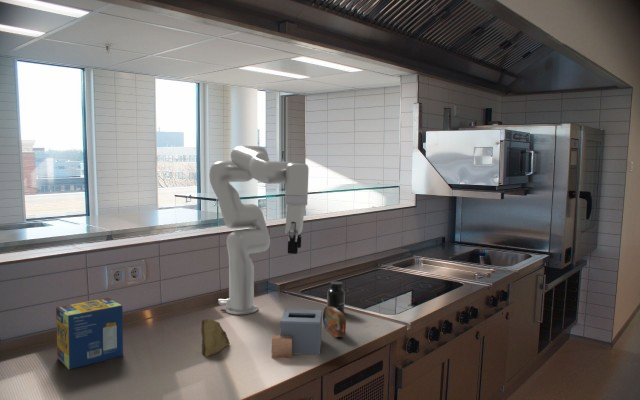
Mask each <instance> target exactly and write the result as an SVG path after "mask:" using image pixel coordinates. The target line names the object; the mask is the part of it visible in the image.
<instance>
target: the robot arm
mask: <svg viewBox="0 0 640 400" xmlns="http://www.w3.org/2000/svg"><path fill="white" fill-rule="evenodd" d="M268 154H269V153H268V151H267V150H266V149H265V148H264V147H262V146H259V145H238V146H236V147H234V148H233V149H232V151H231V152H230V160H219V161H216V162H214V163H212V165H211V166H210V169H209V183H210V185H211V188H212V190H213V192H214V194H215V196H216V198H217V200H218V204H219V208H220V212H221V215H222V219H223V222H224V224H225V226H226V227H227V228H229V229H231V230H233V229H235V231H231V232H230V233H229V234H228V235H227V238H226V241H225V242H226V250H227V253H228V254H227V255H228V276H229V277H228V283H229V284H228V298H226V299H225V298H218V304H219V305H220V306H225V307H224V311H225V312H226V313H227V314H231V315H239V316H241V315H242V316H243V315H249V314H253V313H256V312H257V311H258V310H259V309H258V305H257V304H255V303H254V302H255V301H254V299H255V298H254V297H255V291H254V289H255V284H254V283H255V282H254V281H255V268H254V267H255V266H254V261H253V260H252V259H251V258H250V255H251V254H257V253H262V252H263V253H264V252H266V251H268V249H270V246H271V245H270V244H271V237H270V233H269V230H268V227H267V223H266V219H265V216H264V213H263V211H262V210H261V208H260V206H258V205H256V204H253V203H246V204H245V203H243V202H242V200H241V197H240V194H239V192H238V190H237V189H236V188H235V187H234V186H233V185H232V184H231V182H232V183H238V182H240V183H241V182H249V181H251V180H253V179H254V180H256V181H258V182H260V183H263V184H270V185H271V184H272V185H273V184H285V187H284V188H285V190H284V191H285V192H284V193H285V194H284V195H285V196H284V204H285V205H287V207H286V213H285V214H286V215H285V217H286V218H285V229H284V230H285V232H284V234H285V235H288V239H287V240H288V241H287V253H288V254H290V255H291V254H293V255H297V254H298V250H299V249H300V248H301V247H302V232H303V229H304V216H305V215H304V214H305V213H304V212H305V211H304V210H305V206H308V196H309V195H308V194H309V173H310V172H309V170H310V168H309V165H308V164H306V163H300V162H299V163H297V162H296V163H295V162H293V161H278V160H277V161H275V160H274V161H270V158H269V155H268ZM245 228H246V229H245ZM237 229H238V230H237Z"/></svg>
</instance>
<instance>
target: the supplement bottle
mask: <svg viewBox="0 0 640 400" xmlns="http://www.w3.org/2000/svg"><path fill="white" fill-rule="evenodd" d="M343 288H344V287H343V282H341V281H331V282H330V284H329V289H328V290H327V294H326V295H327V297H326V302H327V303H326V307H327V306H328V307H335V308H336V309H338V310H339V311H340V312H342V313H343V314H344V315H345V304H346V303H345V301H346V300H345V299H346V297H345V296H346V292H345V290H344V289H343Z"/></svg>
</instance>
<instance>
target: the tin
mask: <svg viewBox="0 0 640 400" xmlns="http://www.w3.org/2000/svg"><path fill="white" fill-rule="evenodd" d="M322 321H323V323H322V324H323V327H324V329H325V330H326V332H328V334H330V335H332V337H333V338H342V337H344V336H345V334H346V328H347V326H346V325H347V319H346V316H345V313H344V314H343V313H342V312H340V311H339V310H338V309H336V308H335V307H328V306H327V305H326V306H325V307H324V309H323V311H322Z"/></svg>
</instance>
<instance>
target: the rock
mask: <svg viewBox="0 0 640 400" xmlns="http://www.w3.org/2000/svg"><path fill="white" fill-rule="evenodd" d="M200 326H201V329H200V331H201V338H202V340H201V354H202V355H203V356H204V357H205V358H208V357H209V356H213V355H215V354H218V353H219V352H220V351H222V350H223V349H224V348H226V347H227V346H229V345H230V340H229V338H228V335H227V332H226V331H225V330H224V329H223V327H222V325H221V324H220V322H219V321H216V320H214V319H211V318H207V319H202V320H201V325H200Z"/></svg>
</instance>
